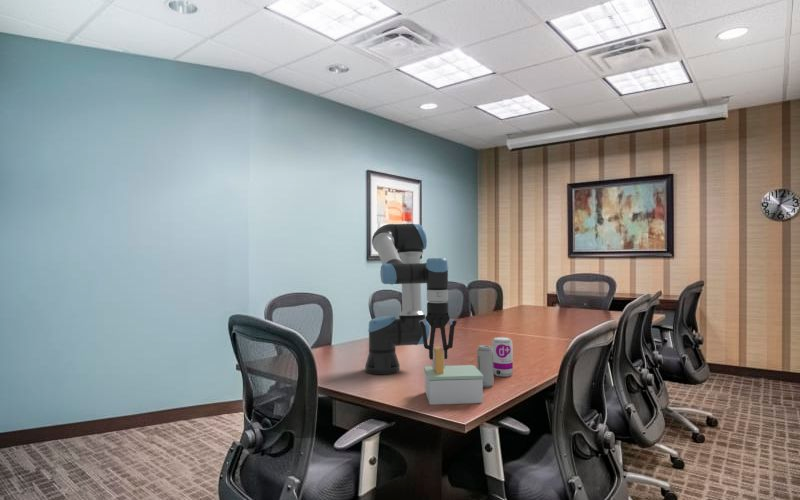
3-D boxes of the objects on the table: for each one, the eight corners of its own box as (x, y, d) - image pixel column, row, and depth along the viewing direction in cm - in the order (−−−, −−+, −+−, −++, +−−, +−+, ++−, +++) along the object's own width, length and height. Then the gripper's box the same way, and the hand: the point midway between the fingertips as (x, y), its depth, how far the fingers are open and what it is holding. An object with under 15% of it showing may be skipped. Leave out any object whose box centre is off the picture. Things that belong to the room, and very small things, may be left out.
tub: (430, 404, 152) (429, 380, 152) (425, 392, 166) (424, 370, 166) (482, 402, 153) (482, 379, 153) (473, 390, 167) (473, 368, 167)
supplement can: (513, 377, 184) (512, 340, 185) (492, 376, 186) (492, 340, 186) (512, 372, 192) (511, 337, 193) (492, 371, 194) (492, 336, 194)
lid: (428, 383, 152) (428, 353, 152) (424, 371, 167) (423, 344, 167) (483, 381, 153) (483, 351, 153) (473, 370, 168) (473, 343, 168)
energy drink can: (476, 383, 176) (475, 345, 177) (491, 383, 177) (490, 344, 177) (479, 388, 170) (479, 348, 171) (495, 387, 171) (495, 347, 171)
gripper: (416, 303, 156) (417, 371, 155) (461, 302, 157) (462, 370, 156) (414, 301, 163) (415, 366, 163) (457, 300, 164) (458, 365, 164)
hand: (438, 368), depth 160 cm, fingers closed on lid, 2 cm apart
